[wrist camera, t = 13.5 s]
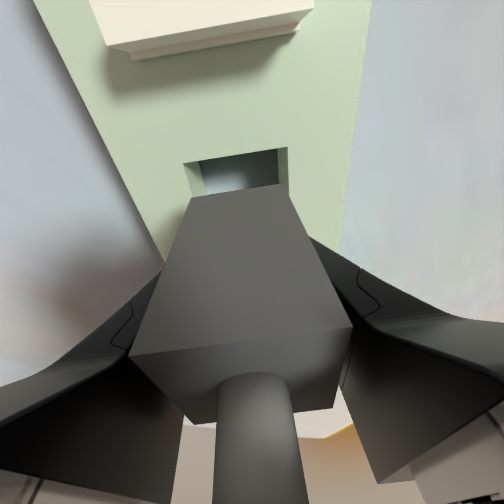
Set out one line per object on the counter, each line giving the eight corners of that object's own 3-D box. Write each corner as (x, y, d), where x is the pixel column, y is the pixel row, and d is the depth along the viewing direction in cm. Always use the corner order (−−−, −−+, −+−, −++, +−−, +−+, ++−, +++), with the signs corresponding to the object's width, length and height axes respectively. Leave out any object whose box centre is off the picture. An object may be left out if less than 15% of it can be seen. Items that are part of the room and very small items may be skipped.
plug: (286, 255, 12) (366, 519, 5) (213, 266, 12) (180, 538, 5) (282, 183, 9) (438, 502, 2) (191, 197, 9) (54, 541, 2)
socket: (316, 283, 23) (329, 315, 20) (204, 299, 23) (199, 332, 20) (344, -152, 8) (411, -296, 5) (45, -90, 9) (-62, -189, 6)
